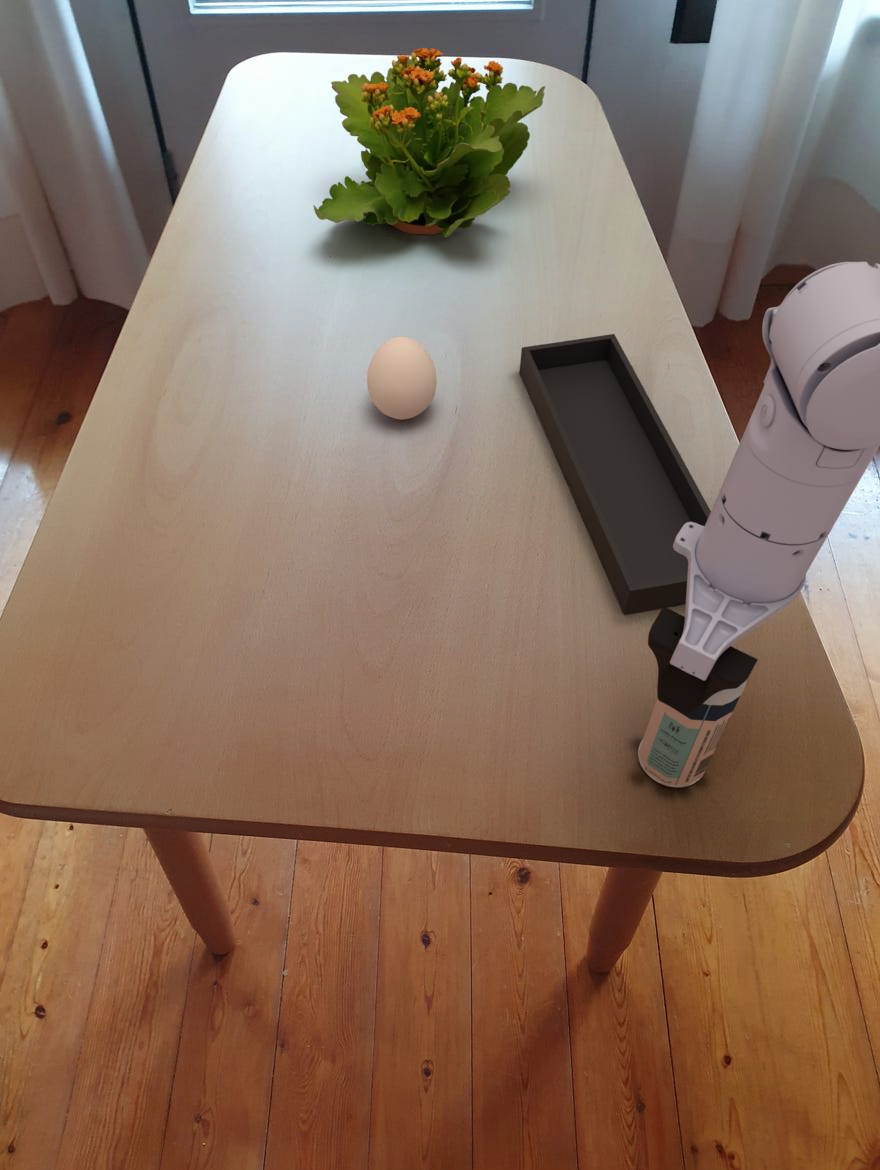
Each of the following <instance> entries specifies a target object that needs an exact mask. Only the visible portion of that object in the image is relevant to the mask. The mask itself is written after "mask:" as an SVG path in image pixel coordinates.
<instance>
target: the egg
mask: <svg viewBox="0 0 880 1170" xmlns="http://www.w3.org/2000/svg"><path fill="white" fill-rule="evenodd" d="M366 374H367V375H366V383H367V384H366V385H367V392H368V396H369V398H370V400H371V401H372V403H373V405H374V406H375V407H376V408H377V409H378V410H379V411H380V412H381V413H382V414H384V415H385V416H387V417H389V418H392V419H394V420H401V421H402V420H409V419H412V418H415V417H416V416H419V415H420V414H421V413H422V412H424V411H425V410H426V409H427V408H428V407H429V406H430V404H431V403H432V401H433V399H434V397H435V395H436V390H437V384H438V383H437V382H438V381H437V371H436V367H435V363H434V360H433V359H432V357H431V355H430V354H429V351H428V350H427V349H426V348H425V347H424V346H423V344H421V343H420V342H419V341H417V340H415V339H414V338H411V337H407V336H395V337H392V338H389V339H387V340H386V341H384V342H383V343H382V344H380V346H379V347H378V348H377V349H376V351H375V352H374V354H373V356H372V358H371V360H370V361H369V364H368V368H367V373H366Z"/></svg>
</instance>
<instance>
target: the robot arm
mask: <svg viewBox="0 0 880 1170" xmlns="http://www.w3.org/2000/svg"><path fill="white" fill-rule="evenodd" d="M762 319H763V320H762V326H761V334H762V335H761V336H762V341H763V344H764V346H765V349H766V351H767V353H768V356H769V357H770V364H769V368H768V370H767V373H766V374H765V377H764V379H763V385H764V386H763V388H762V390H761V392H760V395H759V397H758V400H757V402H756V404H755V406H754V409H753V411H752V414H751V416H750V418H749V420H748V422H747V424H746V427H745V430H744V432H743V434H742V437H741V439H740V442H739V444H738V446H737V449H736V451H735V454H734V455H733V457H732V460H731V463H730V465H729V467H728V470H727V472H726V475H725V477H724V480H723V482H722V484H721V487H720V489H719V492H718V493H717V497H716V499H715V501H714V503H713V506H712V508H711V509H710V511H711V513H710V515H709V517H708V520H707V522H706V524H705V526H702V525H699V524H697V523H694V522H687V523H685V524H684V525H683V527H682V528H681V530H680V531H679V533H678V535H677V536H676V538H675V541H674V543H673V548H674V550H675V551H676V552H678V553H680V554H682V555H684V556H685V557H686V558H687V559H688V577H687V592H686V604H685V609H684V615H682V614H681V613H679V612H677V611H674V610H672V609H670V608H669V607H663V608H661V609H660V611H659V613H658V614H657V616H656V618H655V619H654V621H653V622H652V624H651V626H650V629H649V631H648V636H647V645H648V647H649V648H650V650H651V651H652V653H653V655H654V657H655V660H656V664H657V689H656V691H657V692H656V693H657V694H656V695H657V698H658V700H659V701H660V702H662V703H664V704H666V705H668V706H670V707H672V708H674V709H676V710H678V711H680V712H682V713H684V714H685V715H689V714H691V713H692V712H694V711H695V710H696V709H698V708H699V707H700V706H701V705H702V704H703V703H704V702H705V701H706V700H707V699H709V698H710V697H711V696H712V695H714V694H715V693H717V692H720V691H722V690H726V689H736V688H738V687H739V686H740V685H742V684H743V683H744V682H745V681H746V682H747V680H748V679H749V677H750V675H751V673H752V672H753V670H754V668H755V666H756V664H757V662H758V661H759V659H758V658H756V657H754V656H752V655H750V654H748V653H746V652H744V651H742V650H740V649H738V648H736V647H734V646H732V645H734V644H736V643H737V642H738V641H740V640H741V639H743V638H744V637H746V636H747V635H748V634H750V633H751V632H753V631H754V630H756V629H757V628H759V627H760V626H762V625H763V624H764V623H766V622H767V621H769V620H771V618H773V617H774V616H776V615H777V614H779V613H780V612H781V611H783V610H785V609H786V608H787V607H789V606H790V605H791V604H792V603H794V602H795V600H796V599H797V598H798V596H799V595H800V593H801V591H802V589H803V588H804V585H805V583H806V577H807V573H808V571H809V570H810V568H811V566H812V564H813V562H814V561H815V559H816V557H817V556H818V554H819V552H820V551H821V548H822V547H823V545H824V543H825V542H826V540H827V538H828V536H829V535H830V533H831V531H833V528H834V526H835V524H836V522H837V521H838V519H839V517H840V516H841V514H842V512H843V510H844V509H845V507H846V505H847V504H848V503H849V502H848V501H849V500H850V498H851V496H852V495H853V493H854V491H855V489H856V488H857V486H858V485H859V483H860V481H861V479H862V477H863V475H864V474H865V472H866V470H867V468H868V467H869V465H870V463H871V462H872V460H873V459H874V457H875V455H876V453H877V451H878V449H879V448H880V263H876V262H875V263H874V265H873V266H872V265H870V264H869V263H868V261H841V262H837V263H833V264H832V263H831V264H829V265H827V266H824V267H821V268H819V269H817V270H815V271H813V272H812V273H810V274H808V275H807V276H805V277H804V278H803V279H801V280H800V281H799V282H798V283H797V284H795V285H794V287H792V289H791V290H790V291H789V292H788V293H787V294H786V295H785V297H784V299H783V301H781V303H780V304H779V305H778V306H774V307H769V308H767V310H765V313H764V316H763V318H762Z"/></svg>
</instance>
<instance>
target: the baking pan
mask: <svg viewBox="0 0 880 1170" xmlns="http://www.w3.org/2000/svg"><path fill="white" fill-rule="evenodd" d="M518 373H519V376H520V378H521V381H522V382H523V385H524V387H525V389H526V391H527V394H528V396H529V399H530V401H531V404H532V406H533V408H534V410H535V412H536V415H537V417H538V420H539V422H540V424H541V426H542V428H543V431H544V433H545V436H546V439H547V440H548V442H549V444H550V447H551V450H552V452H553V455H554V457H555V458H556V461H557V464H558V466H559V468H560V470H561V472H562V475H563V477H564V479H565V482H566V484H567V486H568V489H569V490H570V493H571V495H572V498H573V500H574V502H575V504H576V507H577V509H578V512H579V515H580V516H581V519H582V522H583V523H584V526H585V528H586V531H587V532H588V535H589V537H590V539H591V542H592V544H593V547H594V549H595V551H596V554H597V556H598V558H599V561H600V563H601V565H602V568H603V569H604V571H605V574H606V576H607V578H608V581H609V583H610V586H611V588H612V590H613V593H614V595H615V597H616V600H617V601H618V604H619V606H620V609H621V611H622V613H623V615H624V616H625V615H630V614H636V613H642V612H648V611H652V610H659V609H662V608H663V607H666V608H669V607H674V606H675V607H676V606H681V605H686V592H687V577H688V559H687V558H686V557H685V556H684V555H682V554H680V553H678V552H676V551H675V550H674V548H673V543H674V541H675V538H676V536H677V535H678V533H679V531H680V530H681V528H682V527H683V525H684V524H685V523H687V522H694V523H697V524H699V525H702V526H705V524H706V522H707V520H708V517H709V515H710V513H711V508H710V506H709V505H708V503H707V502H706V500H705V498H704V496H703V494H702V492H701V491H700V488H699V486H698V485H697V483H696V482H695V480H694V477H693V476H692V474H691V472H690V470H689V468H688V466H687V465H686V463H685V460H684V459H683V457H682V456H681V453H680V452H679V450H678V448H677V447H676V445H675V443H674V441H673V439H672V437H671V436H670V433H669V432H668V430H667V428H666V427H665V423H664V422H663V421H662V419H661V418H660V415H659V413H658V411H657V410H656V408H655V406H654V404H653V402H652V400H651V399H650V397H649V396H648V395H649V394H648V393H647V391H646V389H645V388H644V386H643V384H642V382H641V380H640V378H639V377H638V375H637V373H636V371H635V369H634V368H633V366H632V364H631V362H630V360H629V359H628V357H627V355H626V353H625V351H624V349H623V347H622V346H621V344H620V341H619V340H618V338H617V336H616V334H615V333H611V334H610V333H609V334H603V335H597V336H589V337H582V338H576V339H570V340H564V341H557V342H550V343H543V344H536V345H529V346H522V347H521V352H520V362H519V372H518Z"/></svg>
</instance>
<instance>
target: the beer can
mask: <svg viewBox="0 0 880 1170" xmlns="http://www.w3.org/2000/svg"><path fill="white" fill-rule="evenodd" d="M746 686H747V680H746V681H745V682H744V683H743V684H742V685H740V686H739V687H738V688H736V689H726V690H722V691H720V692H717V693H715V694H714V695H712V696H711V697H710V698H709V699H707V700H706V701H705V702H704V703H703V704H702V705H701V706H700V707H699V708H698V709H696V710H695V711H694V712H692V713H691V714H689V715H685V714H684V713H682V712H680V711H678V710H676V709H674V708H672V707H670V706H668V705H666V704H664V703H662V702H660V701H659V700H658V697H657V698H656V701H655V703H654V707H653V710H652V712H651V716H650V718H649V721H648V724H647V727H646V730H645V732H644V736H643V737H642V740H641V741H640V743H639V745H638V749H637V755H638V762H639V764H640V767H641V768H642V769H643V771H644V772H645V774H647V776H649V778H651V779H652V780H654V781H655V782H656V783H659V784H660V785H664V786H666V787H671V788H684V787H689V786H691V785H693V784H696V783H697V782H698V781H700V779H702V777H703V776H704V774H705V773H706V771H707V768H708V766H709V763H710V761H711V759H712V758H713V755H714V753H715V751H716V749H717V746H718V744H719V743H720V741H721V738H722V736H723V734H724V733H725V732H724V731H725V729H726V728H727V725H728V723H729V721H730V719H731V717H732V715H733V713H734V711H735V708H736V706H737V704H738V702H739V700H740V698H741V696H742V694H743V692H744V690H745V689H746Z"/></svg>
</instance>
